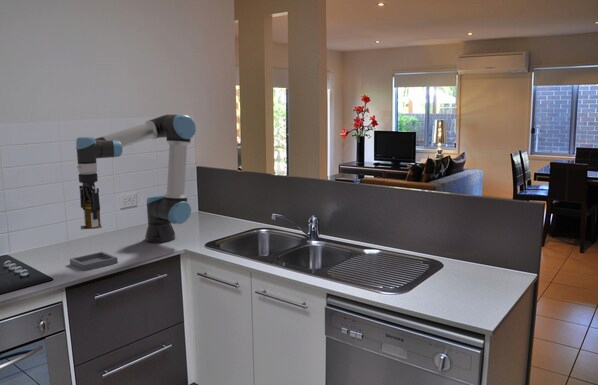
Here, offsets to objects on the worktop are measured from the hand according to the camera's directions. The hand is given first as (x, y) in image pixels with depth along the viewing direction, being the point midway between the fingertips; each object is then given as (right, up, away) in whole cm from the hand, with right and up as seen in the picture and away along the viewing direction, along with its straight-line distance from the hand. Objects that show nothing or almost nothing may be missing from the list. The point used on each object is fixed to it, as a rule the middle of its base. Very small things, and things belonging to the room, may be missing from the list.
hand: (91, 225), depth 223 cm
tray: (0, -17, +3) cm, 17 cm away
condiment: (0, -1, 0) cm, 1 cm away
